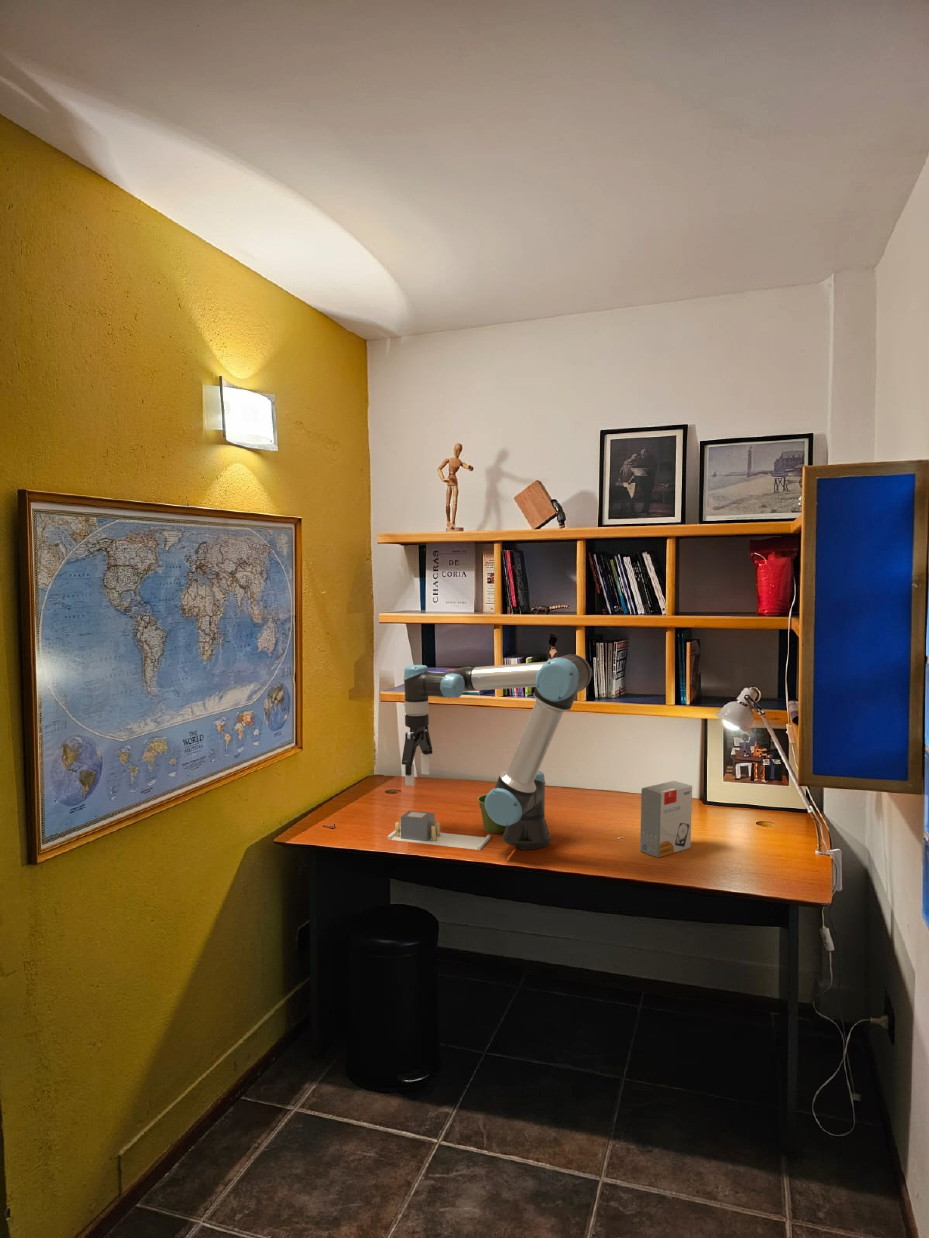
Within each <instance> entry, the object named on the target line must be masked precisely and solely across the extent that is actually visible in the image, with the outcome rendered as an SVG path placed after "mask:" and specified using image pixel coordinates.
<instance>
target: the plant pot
mask: <svg viewBox="0 0 929 1238" xmlns="http://www.w3.org/2000/svg"><path fill="white" fill-rule="evenodd" d="M487 794H488V793H486V794H481V795H479V796H478V797H477V799H476V800H477V802H478V803H479V808H480V811H481V812H480V813H481V817H482V818H481V819H482V824H483V829H484V831H485V832H487V833H493V834H498V833H503V832H504V830H505V827H506V826H503V825H499V824H497V823H495V822H494V821H493V820H492V819H491V818H490V817H489V816H488V813H487V811H486V809H485V798H486V796H487Z"/></svg>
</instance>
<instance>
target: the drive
mask: <svg viewBox="0 0 929 1238" xmlns="http://www.w3.org/2000/svg"><path fill="white" fill-rule="evenodd" d="M400 819H401V839H409V840H418V841H428V840H429V839H430V838H431V826H436V814H435V812H426V811H419V810H418V811H416V810H408V811H407V812H406V813H404V814H403V815H401V816H400Z"/></svg>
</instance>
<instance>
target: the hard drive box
mask: <svg viewBox="0 0 929 1238" xmlns="http://www.w3.org/2000/svg"><path fill="white" fill-rule="evenodd" d="M640 796H641V798H640V799H641V803H640V838H639V851H640V852H642V853H645V854H648V855H649V856H653V857H654V858H661V857H666V856H668V855H671V854H674V853H678V852H680V851H681V852H682V851H685V850H688V849H690V848H691V844H692V843H691V841H692V836H691V835H692V810H693V809H692V808H693V807H692V803H693V800H692V799H693V785H691V784H688V783H683V782H679V781H677V780H671V781H666V782H662V783H658V784H654V785H650V786H645V787H642V788H641V795H640Z"/></svg>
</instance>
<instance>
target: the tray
mask: <svg viewBox="0 0 929 1238" xmlns="http://www.w3.org/2000/svg"><path fill="white" fill-rule="evenodd" d="M399 820H400V822H399V821H396V822H395V824H394V826H395V827H394V828H395V829H394V831H392V832H391V833H390V834H388V835H387V841H389V840H390V841H399V842H407V843H415V844H425V845H433V846H442V847H450V848H458V849H459V848H460V849H467V850H468V849H469V850H474V851H475V850H476V851H477V850H478V851H481V850H482V849H483V848H484V847H485V845H486V844H487V843H488V842H489V841H490V840H491V835H490V834H487V835H486V836H485V837H484V836H476V835H474V836H473V835H465V834H455V833H449V832H448V833H446V832H441V822H440V821H435V826H431V838H430V839H429V840H428V841H418V840H409V839H401V818H400V819H399Z"/></svg>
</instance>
